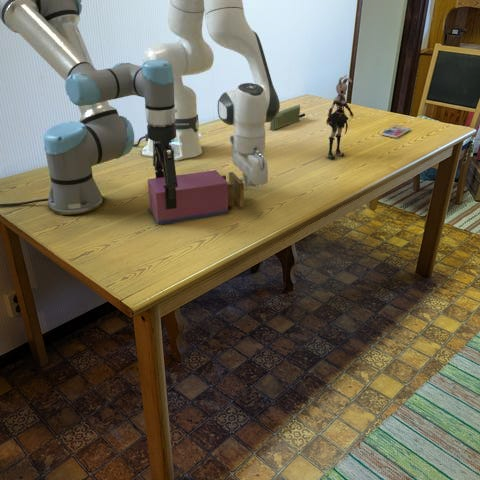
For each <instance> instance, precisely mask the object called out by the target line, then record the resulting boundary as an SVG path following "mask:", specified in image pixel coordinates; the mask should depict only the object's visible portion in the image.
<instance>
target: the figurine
mask: <svg viewBox="0 0 480 480" xmlns="http://www.w3.org/2000/svg"><path fill="white" fill-rule="evenodd" d="M347 76H348V75H347V74H345V75H344V76H341V77H340V78H339V79H338V83H337V84H336V87H335V91H336V93H337V96H335V97H334V99H333V102H332V104H331V106H330V107H329V110H328V113H327V118H326V122H325V124H326V125H327V126H330V127H331V133H330V136H328V139H329V145H328V146H329V149H328V152H327V158H329V159H330V160H335V159H336V157H335V155H338V156H339V157H344V156H345V153H344V152H342V151H341V149H340V146H341V145H340V144H341V138H342V136H343V135H342V133H343V129H344V128H345V130H344V135H347V132H348V128H349V125H348V120H349V118H354V113H353V111H352V110H351V107H350V106H349V105H348V101H347V100H346V95H347V90H348V85H347V82H349V83H351V84H352V83H353V81H352V79H351V77H347ZM334 107H336V110H334ZM345 109H347V111H348V112H349V117H348V116H347V115H346V111H345ZM333 110H334V112H333ZM334 141H336V149H335V155H334V153H333V145H334Z"/></svg>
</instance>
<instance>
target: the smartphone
mask: <svg viewBox="0 0 480 480" xmlns="http://www.w3.org/2000/svg"><path fill="white" fill-rule="evenodd" d="M410 131H411V128H410V127H406V126H402V125H398V124H397V125H396V124H395V125H393V126H391V127H389V128H387V129H386V130H384V131H382V132H381V133H380V134H381V136H386V137H389V138H394V139H398V138H400V137H401V136H403V135H404V134H406V133H408V132H410Z"/></svg>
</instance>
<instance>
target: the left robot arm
mask: <svg viewBox="0 0 480 480" xmlns="http://www.w3.org/2000/svg"><path fill="white" fill-rule="evenodd" d="M82 10H83V5H82V0H0V21H1V22H2V23H3V24H4V25H5V26H6V28H7V29H9V30H10V31H11V32H13V33H15V34H19V35H20V36H21V38H23V39H24V41H26V42H27V44H29V45H30V47H31V48H32V49H34V51H35V52H36V53H37V54H38V55H39V56H40V57H41V58H42V59H43V60H44V61H45V62H46V63H47V64H48V65H49V66H50V67H51V69H53V70H54V71H55V72H56V73H57V74H58V75H59V76H60V77H61V78H62V79H63V80H64V81H65V83H64V88H65V92H66V96H68V99H69V101H70V102H71V103H72V104H73V105H75V106H77V107H78V109H79V112H80V114H81V115H80V118H79V121H69V122H60V123H58V124H55V125H53V126H51V127H49V128H48V129H46V131H45V133H44V134H43V145H44V146H43V148H44V149H43V150H44V152H45V157H46V162H47V167H48V173H49V178H50V189H49V193H48V197H47V198H40V199H34V200H28V201H22V202H12V203H11V202H9V203H0V207H14V206H23V205H29V204H34V203H35V204H36V203H41V202H47V201H48V207H49V210H50V211H51V212H52V213H54V214H57V215H62V216H75V215H76V216H77V215H84V214H87V213H90V212H93V211H96V210H97V209H99V208H100V207H101V206H102V205H103V203H104V202H103V195H102V193H101V191H100V188H99V186H98V184H97V183H96V180H95V179H94V176H93V168H92V167H93V166H96V165H100V164H103V163H107V162H110V161H112V160H116V159H119V158H122V157H123V156H124V157H125V156H126V155H129V154H130V153H131V151H132V150H133V148H134V146H133V144H135V130H134V127H133V125H132V123H131V121H130V120H129V119H128V118H127V117H125V116H123V115H120V114H119V112H118V110H117V108H116V107H114V106H111V105H110V103H109V101H111V100H117V99H122V98H126V97H131V96H137V97H141V98H144V103H145V104H144V106H145V107H144V109H145V121H146V131H147V133H148V138H149V139H150V140H152V141H153V157H152V166H153V167H154V173H155V178H160V177H164V178H165V183H166V186H163V188H165V196H166V209H173V208H177V206H176V188H175V187H178V184H177V177H176V175H177V169H176V163H175V162H176V161H175V160H174V151H173V150H172V146H171V145H170V143H169V141H170V140H173V139H175V138H176V124H175V123H174V122H175V113H176V112H177V110H176V109H175V104H174V103H175V102H174V77H173V70H172V65H171V63H170V62H168V61H165V60H149V61H145V62H144V63H143V62H142V64H141V65H138V64H134V63H130V62H119V63H116V64H115V65H114V66H113V67H109V68H103V69H96V68H95V66H94V63H93V60H92V58H91V56H90V53H89V51H88V49H87V46H86V44H85V41H84V38H83V36H82V34H81V30H80V29H79V24H80V21H81V16H80V15H81V13H82ZM147 133H146V134H147Z"/></svg>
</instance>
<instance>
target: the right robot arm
mask: <svg viewBox="0 0 480 480" xmlns="http://www.w3.org/2000/svg"><path fill="white" fill-rule="evenodd" d="M244 10H245V9H244V3H243V0H170V2H169V9H168V17H167V25H168V27H169V30H170V31H171V32H172V33H173V34H174V35H176V36H177V37H179V40H178V42H170V43H169V42H168V43H159V44H156V45H153V46H150V47H148V48H146V49H145V52H144V54H143V57H142V64H143V63H144V62H145V61H149V60H165V61H168V62H170V63H171V65H172V70H173V77H174V102H175V103H174V104H175V109H176V110H177V112H176V113H175V122H174V123H175V124H176V138H175V139H173V140H170V141H169V143H170V145H171V146H172V150H173V151H174V161H175V162H178V161H182V160H185V159H190V158H191V159H192V158H196V157H198V156H200V155H202V153H203V149H202V148H203V147H202V145H201V142H200V137H201V136H202V134H201V133H199V128H200V121H199V114H198V103H197V94H196V92H195V91H194V89H192V88H191V87H189V86H187V85H185V84H184V83H183V77H185V76H192V75H193V76H194V75H199V74H203V73H205V72H208V71H209V70H211V69H212V67H213V64H214V60H215V56H214V51H213V49H212V46H210V44H209V43H208V42H206V40H205V39H204V36H203V23H204V18H205V25H206V29H207V33H208V35H209V37H210V38H211V40H212V41H213V42H214V43H215V44H217V45H219V46H220V47H222V48H224V49H227V50H230V51H233V52H236V53H238V54H240V56H242V57H243V58H244V59H246V61H247V63H248V65H249V69H250V71H251V72H250V73H251V76H252V80H253V83H252V82H244V83H241V84H239V85H237V87H236V89H233V90H228V91H225V92H223V93H222V94H221V95H220V97H219V99H218V100H217V115H218V118H219V120H221V121H222V122H223V123H224V124H226V125H227V126H234V128H235V129H234V133H233V134H230V135H229V142H230V143H231V144H230V149H231V151H230V152H231V160H232V163H233V165H234V166H235V167H237V169H238V170H239V171H241V172H242V179H243V178H244V181H243V183H244V187H249V186H253V184H255V185H256V186H265V185H267V183H268V181H269V169H268V168H269V167H268V161H267V158H266V157H265V156H264V154H263V152H264V151H265V150H266V133H267V132H266V127H265V126H266V125H265V124H266V123H271V121H272V120H273V119H274V118H275V117H276V115H277V114H278V112H279V111H280V108H281V107H280V106H281V104H280V99H279V96H278V94H277V92H276V91H277V90H276V89H275V87H274V84H273V81H272V76H271V74H270V70H269V69H270V68H269V66H268V62H267V59H266V56H265V51H264V48H263V45H262V42H261V39H260V37H259V34H258V33H257V32H256V31H254V30H253V29H252V28H251V26H250V25H249V23H248V20H247V18H246V15H245V11H244ZM144 139H145V142H147V145H145V146H144V147H143V148H142V150H141V155H142V156H145V157H152V158H153V141H152V140H150V139H149V138H148V133H146V134H145V135H144V136H141V137H139V139H138V140H137V143H136V144H135V143H133V147H138V146H139V145H140V143H141V141H142V140H144ZM247 190H248V191H252V190H253V189H247Z"/></svg>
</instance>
